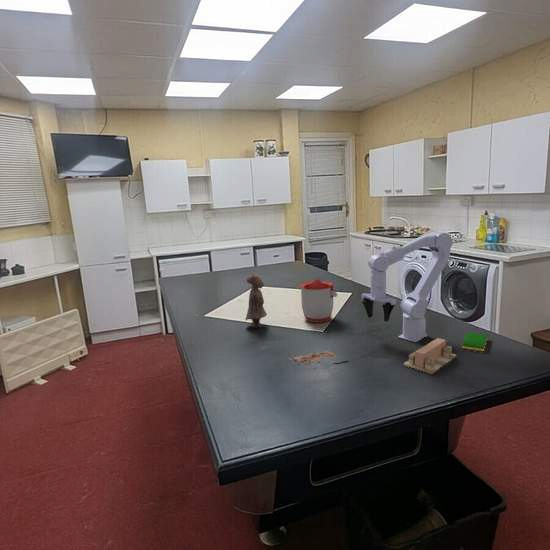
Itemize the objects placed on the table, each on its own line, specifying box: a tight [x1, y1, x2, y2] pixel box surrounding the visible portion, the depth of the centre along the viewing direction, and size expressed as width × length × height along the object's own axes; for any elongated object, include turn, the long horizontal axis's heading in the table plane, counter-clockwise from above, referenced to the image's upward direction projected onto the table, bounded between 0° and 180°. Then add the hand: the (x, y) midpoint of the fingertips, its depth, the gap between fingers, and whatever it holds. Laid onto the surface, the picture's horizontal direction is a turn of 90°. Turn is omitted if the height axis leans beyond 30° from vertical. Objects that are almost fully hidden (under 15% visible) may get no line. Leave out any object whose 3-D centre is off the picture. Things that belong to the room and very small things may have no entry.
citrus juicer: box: [299, 278, 338, 323], centre depth 184 cm, size 16×17×20 cm
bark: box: [288, 350, 336, 363], centre depth 141 cm, size 22×12×1 cm, turn 111°
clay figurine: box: [245, 273, 268, 329], centre depth 178 cm, size 13×10×25 cm
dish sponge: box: [461, 332, 488, 352], centre depth 148 cm, size 7×14×2 cm, turn 147°
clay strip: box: [414, 337, 447, 368], centre depth 135 cm, size 16×3×5 cm, turn 132°
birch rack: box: [403, 342, 457, 375], centre depth 135 cm, size 18×10×4 cm, turn 132°
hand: (378, 318), depth 154 cm, fingers open, 7 cm apart
